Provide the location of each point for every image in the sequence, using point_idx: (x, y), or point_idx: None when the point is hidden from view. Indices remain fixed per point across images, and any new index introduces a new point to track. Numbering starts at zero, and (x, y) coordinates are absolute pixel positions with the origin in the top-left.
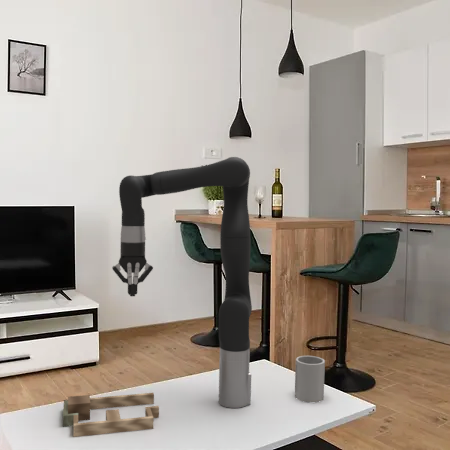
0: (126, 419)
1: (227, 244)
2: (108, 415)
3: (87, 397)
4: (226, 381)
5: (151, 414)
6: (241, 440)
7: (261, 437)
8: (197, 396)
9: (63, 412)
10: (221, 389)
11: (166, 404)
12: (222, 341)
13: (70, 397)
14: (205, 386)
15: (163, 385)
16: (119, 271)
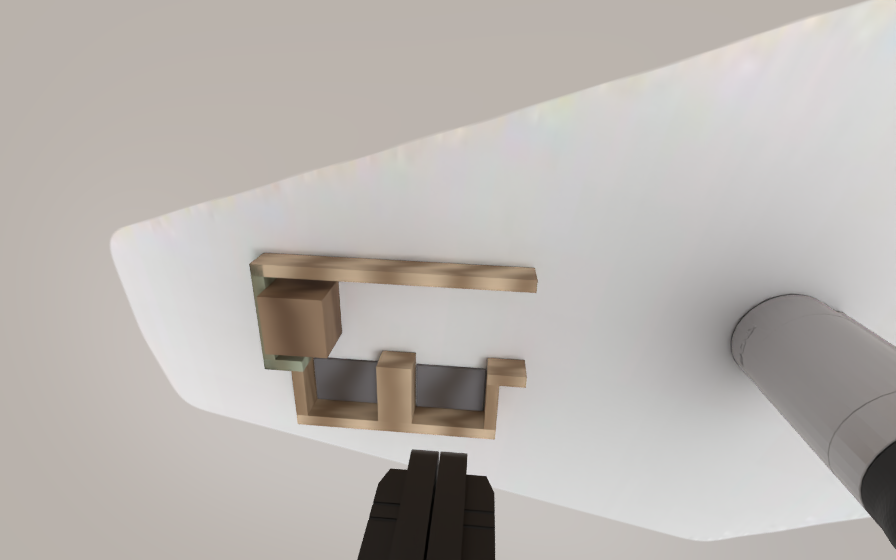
0: (425, 429)
1: None
2: (382, 396)
3: (316, 318)
4: (783, 416)
5: (493, 421)
6: (670, 516)
7: (721, 518)
8: (694, 259)
9: (262, 348)
10: (757, 377)
11: (570, 293)
12: (885, 533)
13: (264, 304)
14: (773, 174)
15: (617, 118)
16: None
